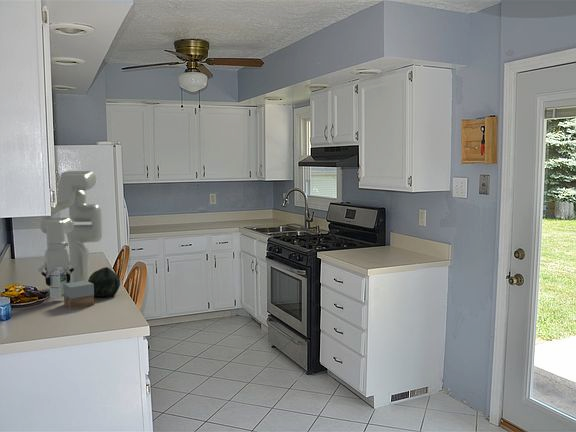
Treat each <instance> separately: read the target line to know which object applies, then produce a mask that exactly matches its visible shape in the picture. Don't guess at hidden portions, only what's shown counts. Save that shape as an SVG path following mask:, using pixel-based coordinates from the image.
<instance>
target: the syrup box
mask: <svg viewBox="0 0 576 432" xmlns="http://www.w3.org/2000/svg"><path fill="white" fill-rule="evenodd" d="M49 278H50V286H48V287H49V296H50V298H51V299H64V286H63V284H64V283H67V272H66V270H63V268H62V267H55V271H54V272H51V274H50V275H49Z"/></svg>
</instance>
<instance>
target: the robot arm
mask: <svg viewBox="0 0 576 432" xmlns="http://www.w3.org/2000/svg"><path fill="white" fill-rule="evenodd" d="M96 182H97V176H96V174H95V172H94V171H92V170H68V171H67V170H66V171H63V172H61V174H60V177H59V179H58V185H57V189H56V193H57V192H58V202H57V206H56V207H55V208H51V216H42V215H41V218H40V221H39V222H40V227H39V228H40V230H41V233H43V234H44V235H45V234H46V246H47V247H46V248H47V249H46V250H45V251H44V264H42V265H41V266H40V267H39V268H38V269H37V271H38V272H39V273H40V274H41V275H42V276H43V277H45V278H44V279H45V285H46V286H47V287H49V286H50V278H49V275H50V274H51V272H54V271H55V267H62V268H63V270H66V272H67V283H71V282H78V281H85V280H86V281H88V280H89V277H90V276H91V274H90V256H89V254H90V253H89V248H88V247H87V246H86V243H98V242H100V241H101V240H102V234H103V230H102V226H103V225H102V211H101V210H102V209H101V207H100V206H99V204H97V203H87V195H86V193H85V191H89V190H91V189H92V188H94V187H95V185H96ZM65 209H68V217H52V216H54V214H56V213H58V212H60V211H63V210H65ZM74 223H91V224H74ZM65 234H66V235H65ZM65 236H66V237H65ZM65 238H67V242H66V240H65ZM84 243H85V244H84ZM67 247H68V249H67ZM44 270H45V271H46V272H44Z"/></svg>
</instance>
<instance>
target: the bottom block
mask: <svg viewBox="0 0 576 432" xmlns="http://www.w3.org/2000/svg"><path fill="white" fill-rule="evenodd" d="M63 305H64V307H65V306H66V308H68V307H69V309H70V310H75V309H80V308H86V307H92V305H93V306H95V297H94V295H91V296H85V297H78V298H72V299H71V298H69V297H67V296H66V295H64V297H63Z"/></svg>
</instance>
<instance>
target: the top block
mask: <svg viewBox="0 0 576 432" xmlns="http://www.w3.org/2000/svg"><path fill="white" fill-rule="evenodd" d="M63 286H64V295H66V296H67V297H69V298H71V299H72V298H78V297H85V296H91V295H94V284H93V283H90V282H88V281H86V280H85V281H78V282H71V283H64V284H63Z"/></svg>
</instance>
